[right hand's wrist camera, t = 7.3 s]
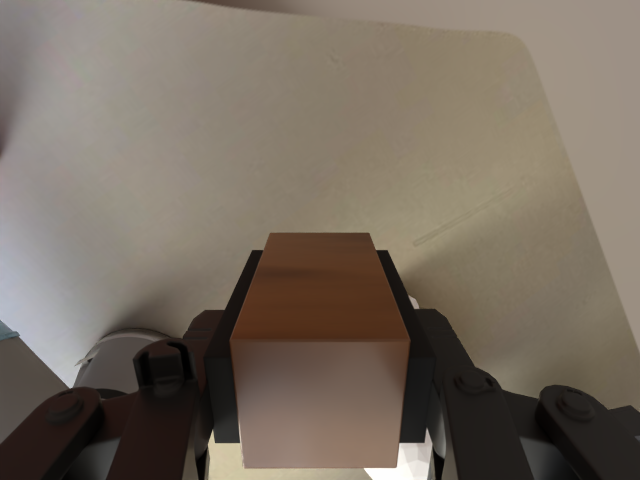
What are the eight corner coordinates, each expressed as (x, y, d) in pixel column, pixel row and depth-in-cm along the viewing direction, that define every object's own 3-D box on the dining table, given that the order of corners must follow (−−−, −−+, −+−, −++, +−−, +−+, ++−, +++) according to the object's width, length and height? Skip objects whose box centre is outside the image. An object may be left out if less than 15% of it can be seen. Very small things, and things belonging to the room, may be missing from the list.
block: (364, 317, 16) (397, 469, 9) (274, 317, 16) (242, 469, 9) (369, 232, 14) (411, 340, 8) (269, 232, 14) (228, 340, 8)
